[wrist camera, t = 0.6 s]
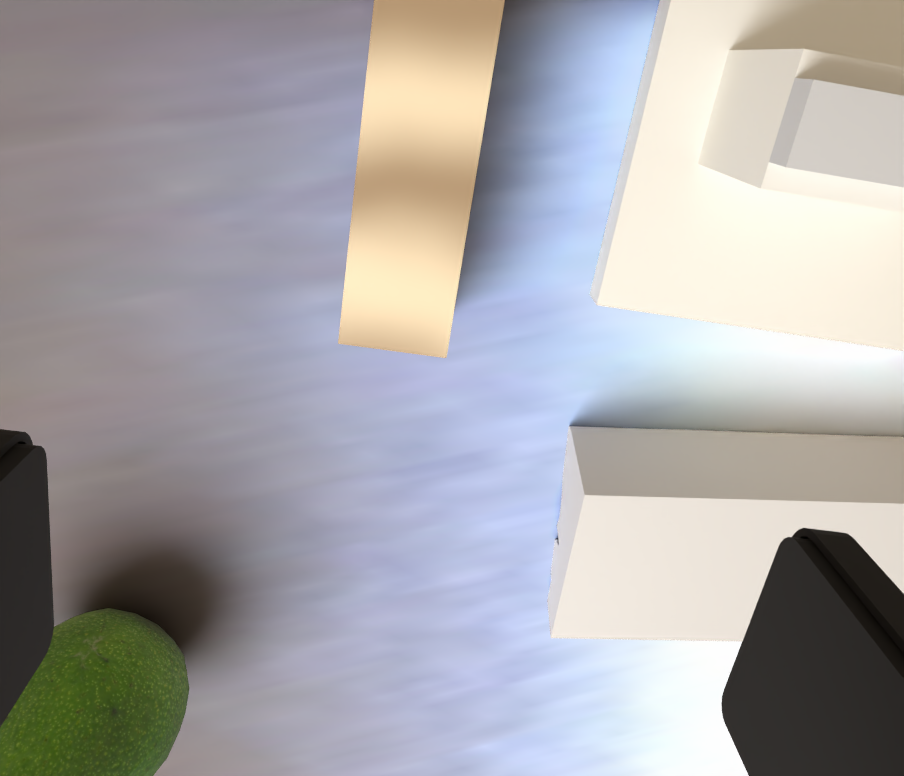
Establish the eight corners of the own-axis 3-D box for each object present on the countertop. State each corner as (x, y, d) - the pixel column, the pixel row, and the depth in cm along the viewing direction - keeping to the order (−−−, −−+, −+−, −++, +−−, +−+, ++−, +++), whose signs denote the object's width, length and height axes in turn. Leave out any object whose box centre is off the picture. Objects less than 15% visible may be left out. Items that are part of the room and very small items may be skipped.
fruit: (179, 717, 41) (90, 957, 30) (28, 670, 40) (-123, 906, 29) (230, 605, 39) (152, 825, 28) (70, 550, 37) (-80, 760, 26)
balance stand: (695, -150, 27) (811, -238, 19) (1066, -73, 28) (1322, -124, 20) (589, 294, 33) (642, 371, 25) (898, 341, 34) (1043, 428, 26)
